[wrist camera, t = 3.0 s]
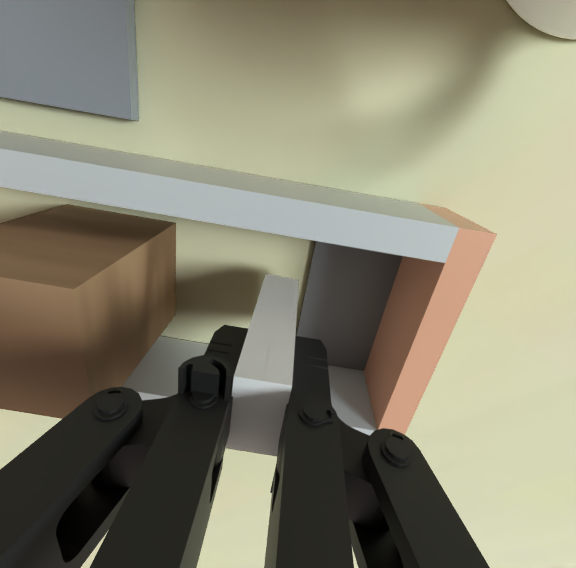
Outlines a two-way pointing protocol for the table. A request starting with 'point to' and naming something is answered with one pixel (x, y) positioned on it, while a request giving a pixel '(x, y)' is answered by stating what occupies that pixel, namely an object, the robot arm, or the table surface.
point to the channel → (323, 272)
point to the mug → (548, 15)
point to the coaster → (70, 55)
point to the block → (79, 303)
